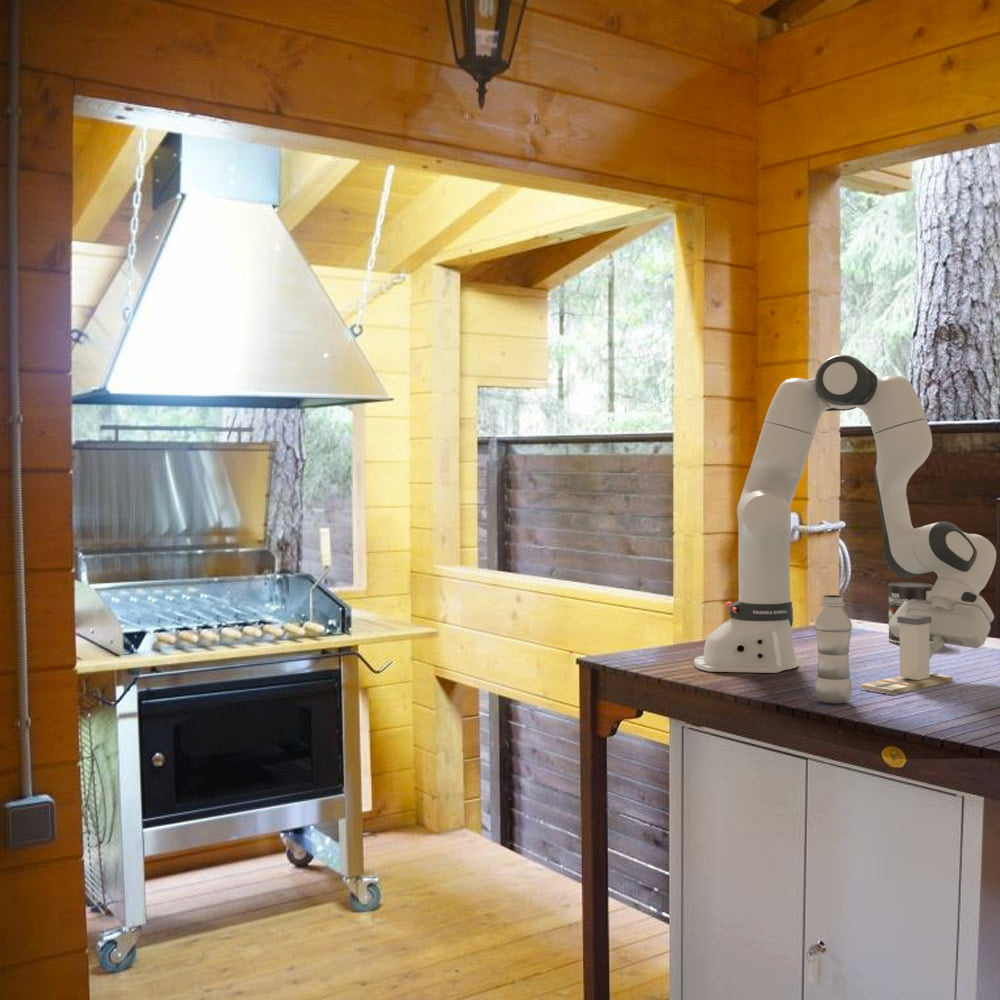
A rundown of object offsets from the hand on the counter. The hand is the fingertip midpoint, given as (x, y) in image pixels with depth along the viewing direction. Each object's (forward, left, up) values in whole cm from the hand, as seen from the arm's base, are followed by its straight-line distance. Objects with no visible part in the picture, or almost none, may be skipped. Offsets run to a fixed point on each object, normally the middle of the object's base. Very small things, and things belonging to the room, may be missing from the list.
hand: (922, 655), depth 225 cm
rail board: (-4, -3, -5) cm, 7 cm away
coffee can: (+14, +48, -5) cm, 50 cm away
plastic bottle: (-22, -18, -5) cm, 29 cm away
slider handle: (-2, -2, -4) cm, 5 cm away
